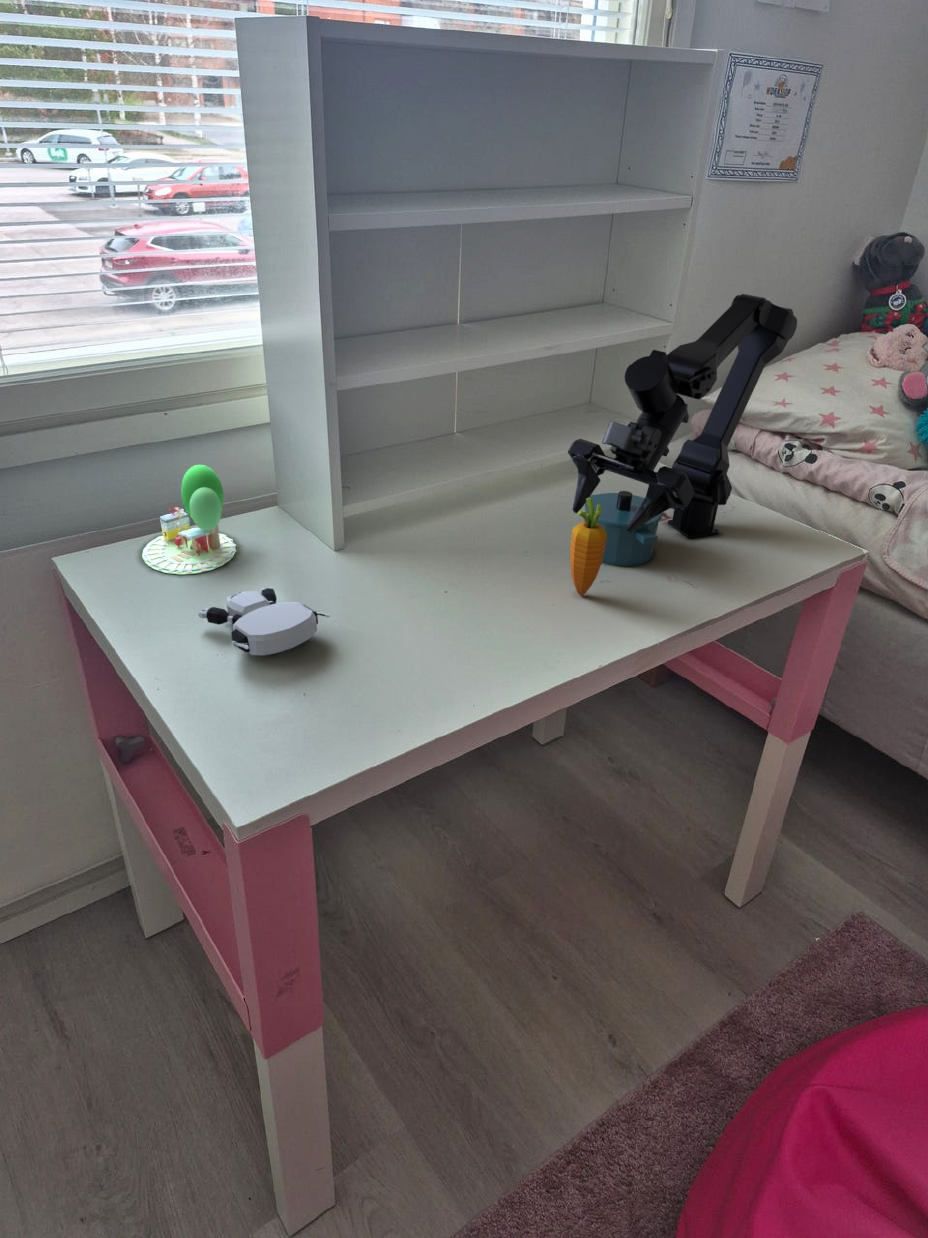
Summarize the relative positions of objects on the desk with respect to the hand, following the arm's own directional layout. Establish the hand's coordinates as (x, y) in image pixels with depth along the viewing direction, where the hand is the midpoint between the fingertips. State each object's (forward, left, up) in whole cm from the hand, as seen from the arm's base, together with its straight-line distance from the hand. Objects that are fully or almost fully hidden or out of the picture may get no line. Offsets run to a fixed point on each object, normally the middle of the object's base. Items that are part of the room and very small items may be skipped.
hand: (600, 521), depth 123 cm
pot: (-11, -10, -11) cm, 19 cm away
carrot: (+2, +1, -11) cm, 12 cm away
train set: (+54, -29, -11) cm, 63 cm away
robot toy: (+48, -2, -11) cm, 50 cm away
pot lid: (-11, -10, -4) cm, 16 cm away
